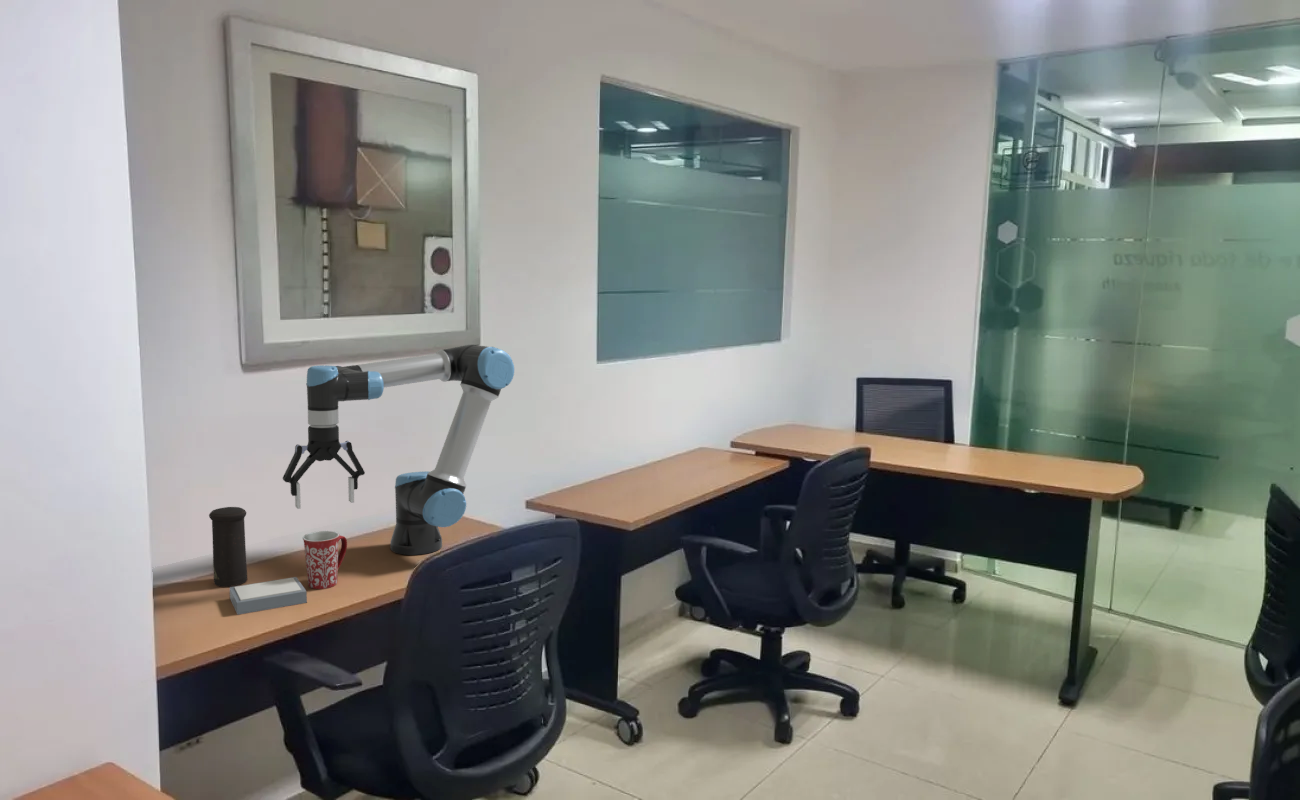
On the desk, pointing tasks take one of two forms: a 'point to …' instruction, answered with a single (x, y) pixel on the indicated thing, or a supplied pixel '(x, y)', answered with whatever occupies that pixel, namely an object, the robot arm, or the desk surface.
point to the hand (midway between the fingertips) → (325, 504)
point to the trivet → (267, 595)
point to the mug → (323, 558)
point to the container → (229, 546)
